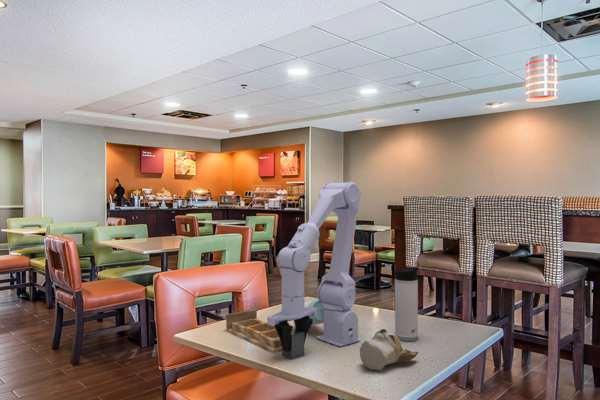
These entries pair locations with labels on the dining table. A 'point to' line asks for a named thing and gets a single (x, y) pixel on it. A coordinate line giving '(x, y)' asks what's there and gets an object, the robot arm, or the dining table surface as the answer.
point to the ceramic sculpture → (384, 351)
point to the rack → (253, 330)
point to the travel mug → (406, 304)
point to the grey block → (295, 344)
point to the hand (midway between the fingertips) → (293, 348)
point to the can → (320, 311)
